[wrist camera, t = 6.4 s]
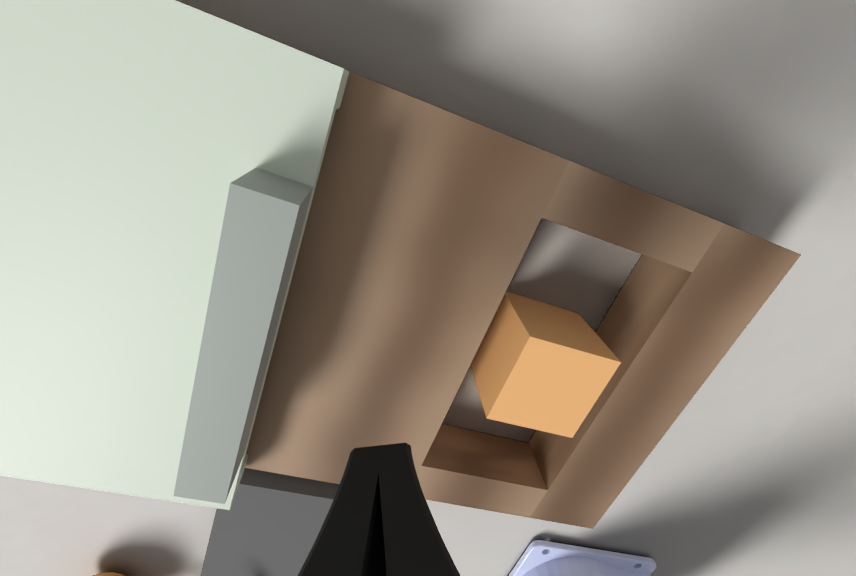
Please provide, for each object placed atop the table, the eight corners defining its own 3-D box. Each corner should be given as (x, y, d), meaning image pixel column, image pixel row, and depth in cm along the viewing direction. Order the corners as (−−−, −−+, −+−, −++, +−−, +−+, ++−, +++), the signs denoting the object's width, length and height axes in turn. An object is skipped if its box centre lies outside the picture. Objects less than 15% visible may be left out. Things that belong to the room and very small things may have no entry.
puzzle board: (740, 230, 19) (801, 254, 16) (570, 480, 25) (592, 528, 22) (6, -67, 12) (-101, -111, 10) (15, 367, 18) (-49, 416, 15)
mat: (396, 493, 24) (396, 509, 23) (351, 589, 27) (350, 606, 26) (230, 464, 22) (223, 481, 21) (204, 571, 25) (197, 589, 24)
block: (578, 312, 20) (621, 362, 16) (540, 379, 21) (572, 438, 18) (502, 289, 19) (530, 336, 15) (468, 360, 20) (486, 418, 17)
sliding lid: (349, 71, 12) (335, 63, 8) (243, 471, 18) (209, 563, 14) (-85, -105, 9) (-349, -213, 6) (-39, 422, 15) (-160, 518, 12)
